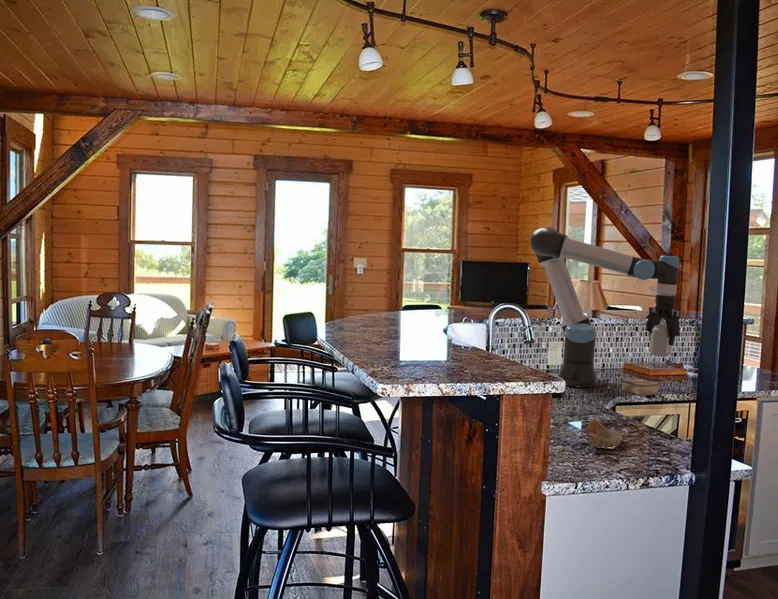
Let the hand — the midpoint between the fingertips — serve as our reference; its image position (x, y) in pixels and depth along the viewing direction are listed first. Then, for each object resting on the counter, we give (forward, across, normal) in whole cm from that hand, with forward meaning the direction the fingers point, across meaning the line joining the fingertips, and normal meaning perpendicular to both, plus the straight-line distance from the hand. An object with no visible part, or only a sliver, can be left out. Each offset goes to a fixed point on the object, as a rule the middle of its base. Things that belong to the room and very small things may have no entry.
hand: (660, 351), depth 283 cm
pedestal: (+14, -7, +17) cm, 23 cm away
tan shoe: (+15, -57, +82) cm, 102 cm away
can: (+2, 0, 0) cm, 2 cm away
